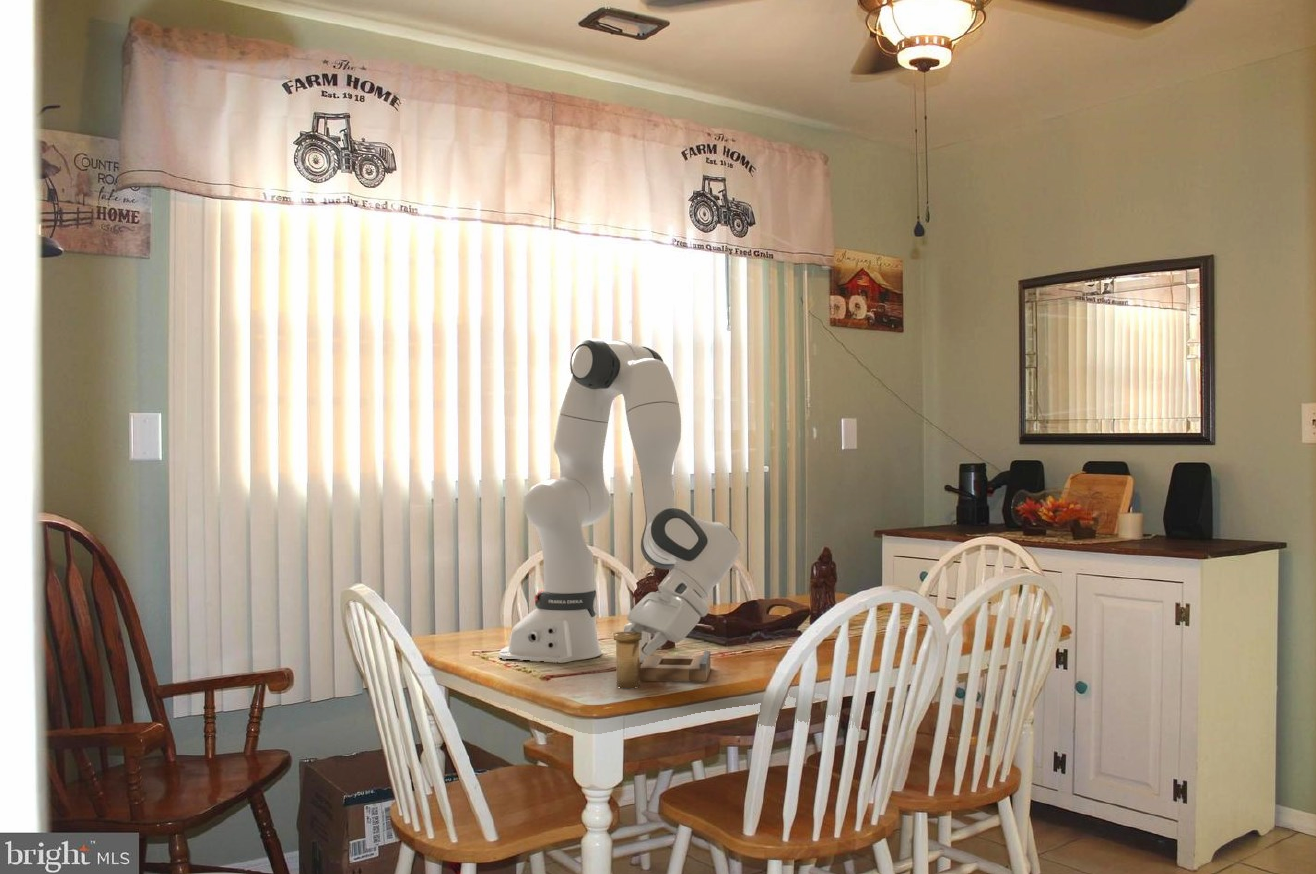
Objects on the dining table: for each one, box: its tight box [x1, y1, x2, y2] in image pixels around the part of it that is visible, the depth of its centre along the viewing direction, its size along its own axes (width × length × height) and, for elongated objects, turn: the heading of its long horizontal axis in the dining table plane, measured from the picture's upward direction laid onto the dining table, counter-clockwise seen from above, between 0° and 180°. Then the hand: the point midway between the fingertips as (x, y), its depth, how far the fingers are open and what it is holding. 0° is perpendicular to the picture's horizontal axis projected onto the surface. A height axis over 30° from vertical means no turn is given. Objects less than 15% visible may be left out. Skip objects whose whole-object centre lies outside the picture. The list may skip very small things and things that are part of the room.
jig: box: [640, 650, 711, 683], centre depth 207 cm, size 13×13×4 cm
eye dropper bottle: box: [623, 604, 652, 664], centre depth 221 cm, size 4×6×12 cm
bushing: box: [613, 630, 642, 689], centre depth 197 cm, size 5×5×10 cm
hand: (634, 649), depth 198 cm, fingers open, 8 cm apart
